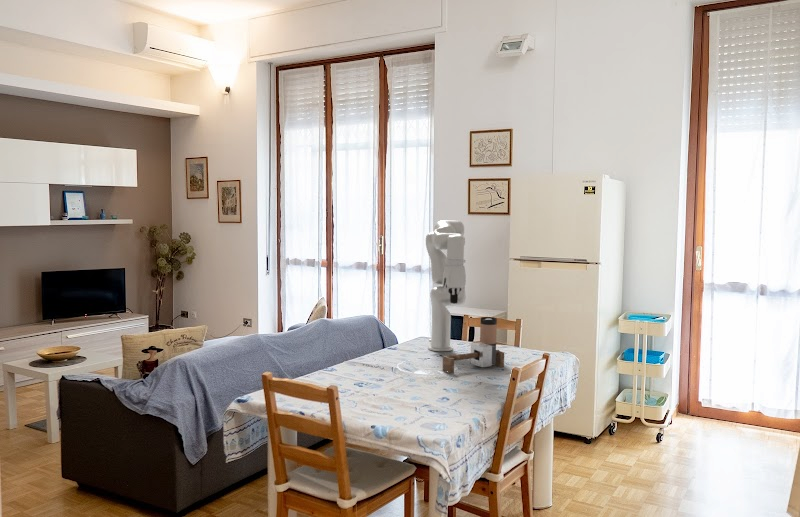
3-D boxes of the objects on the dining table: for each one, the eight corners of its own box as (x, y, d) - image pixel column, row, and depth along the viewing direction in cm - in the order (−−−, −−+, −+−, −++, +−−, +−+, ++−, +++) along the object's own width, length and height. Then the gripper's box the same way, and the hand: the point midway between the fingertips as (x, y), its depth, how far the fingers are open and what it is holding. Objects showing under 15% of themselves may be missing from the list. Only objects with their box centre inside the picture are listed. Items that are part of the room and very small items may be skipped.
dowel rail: (450, 373, 290) (450, 357, 289) (442, 370, 295) (442, 354, 294) (503, 366, 304) (504, 350, 303) (495, 363, 309) (496, 348, 308)
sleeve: (482, 367, 296) (482, 347, 295) (470, 362, 304) (471, 343, 303) (491, 366, 298) (492, 346, 298) (479, 361, 306) (480, 342, 305)
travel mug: (495, 358, 319) (496, 317, 317) (496, 362, 311) (497, 320, 309) (479, 358, 320) (480, 316, 318) (479, 362, 312) (480, 319, 310)
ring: (490, 364, 299) (491, 346, 298) (480, 360, 306) (480, 343, 305) (495, 364, 300) (495, 346, 299) (484, 360, 307) (485, 343, 306)
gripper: (463, 260, 309) (462, 300, 311) (436, 262, 301) (435, 302, 303) (473, 263, 302) (472, 303, 304) (445, 264, 295) (444, 305, 297)
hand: (453, 302), depth 304 cm, fingers closed
